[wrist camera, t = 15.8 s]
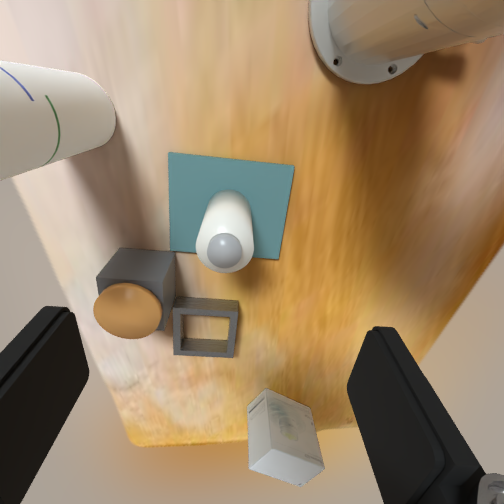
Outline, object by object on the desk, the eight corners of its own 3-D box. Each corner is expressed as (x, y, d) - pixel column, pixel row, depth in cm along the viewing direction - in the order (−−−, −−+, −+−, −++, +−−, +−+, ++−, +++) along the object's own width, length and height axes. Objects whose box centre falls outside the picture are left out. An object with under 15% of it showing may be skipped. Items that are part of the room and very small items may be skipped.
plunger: (169, 266, 35) (158, 290, 30) (170, 312, 38) (161, 340, 34) (108, 261, 34) (88, 286, 30) (114, 309, 37) (98, 337, 33)
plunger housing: (175, 252, 38) (162, 282, 32) (175, 295, 41) (164, 330, 35) (119, 247, 37) (95, 277, 31) (124, 292, 41) (103, 327, 34)
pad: (293, 165, 33) (294, 166, 33) (277, 257, 39) (278, 259, 38) (169, 152, 32) (168, 152, 32) (171, 248, 38) (170, 250, 37)
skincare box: (312, 406, 54) (327, 470, 45) (290, 424, 56) (300, 488, 47) (266, 386, 51) (272, 450, 42) (245, 406, 53) (246, 471, 44)
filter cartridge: (253, 191, 34) (257, 228, 24) (248, 232, 36) (250, 280, 27) (208, 187, 34) (194, 222, 24) (206, 228, 36) (193, 276, 26)
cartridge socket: (238, 300, 42) (238, 311, 40) (233, 345, 46) (233, 357, 44) (176, 296, 41) (172, 307, 39) (176, 342, 45) (173, 354, 43)
